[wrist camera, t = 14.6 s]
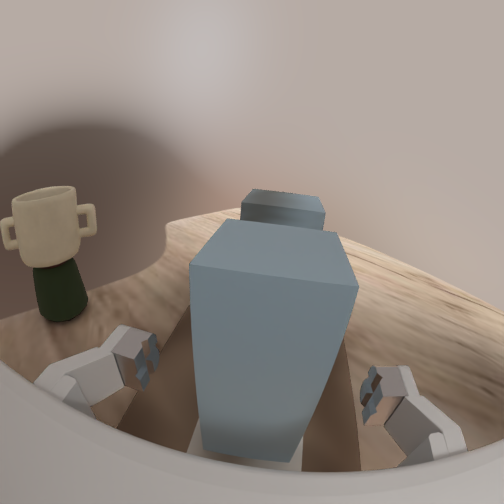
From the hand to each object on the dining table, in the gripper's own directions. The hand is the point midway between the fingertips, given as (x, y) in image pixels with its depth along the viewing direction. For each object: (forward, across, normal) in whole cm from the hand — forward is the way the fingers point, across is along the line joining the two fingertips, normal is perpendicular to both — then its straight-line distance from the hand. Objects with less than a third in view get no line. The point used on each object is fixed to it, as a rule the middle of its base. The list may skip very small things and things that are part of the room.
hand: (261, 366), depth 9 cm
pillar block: (+2, 0, +8) cm, 9 cm away
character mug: (+10, +22, +10) cm, 26 cm away
